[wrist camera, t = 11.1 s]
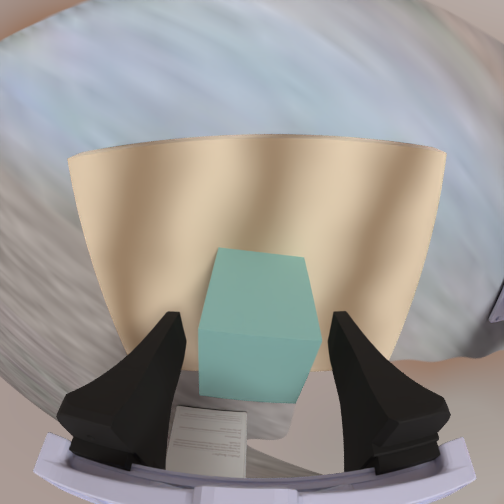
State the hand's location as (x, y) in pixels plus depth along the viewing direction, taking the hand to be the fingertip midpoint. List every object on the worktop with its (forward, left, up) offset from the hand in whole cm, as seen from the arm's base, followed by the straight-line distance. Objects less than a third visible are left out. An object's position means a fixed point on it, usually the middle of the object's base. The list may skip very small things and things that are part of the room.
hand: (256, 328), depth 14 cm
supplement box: (+5, +20, -5) cm, 21 cm away
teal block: (0, 0, -3) cm, 3 cm away
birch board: (0, 0, -5) cm, 5 cm away
